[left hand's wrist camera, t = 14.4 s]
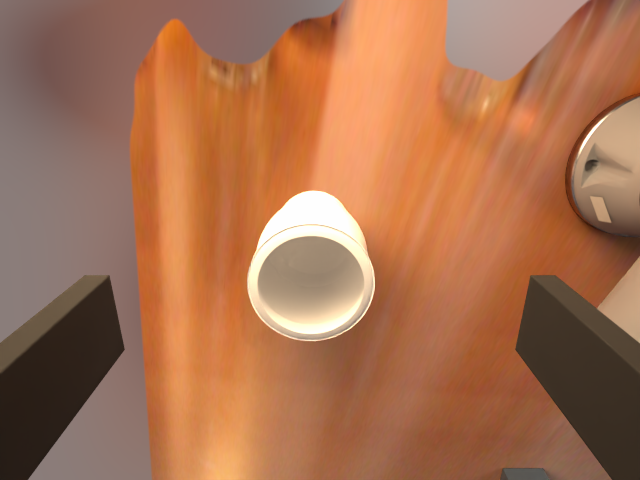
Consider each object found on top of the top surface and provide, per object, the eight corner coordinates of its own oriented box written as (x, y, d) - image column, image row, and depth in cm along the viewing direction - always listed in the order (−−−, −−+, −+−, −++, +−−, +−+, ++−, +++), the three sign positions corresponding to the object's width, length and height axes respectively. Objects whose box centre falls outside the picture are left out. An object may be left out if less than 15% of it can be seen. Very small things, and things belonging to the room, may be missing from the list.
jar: (276, 172, 44) (255, 212, 30) (368, 190, 45) (390, 237, 31) (262, 260, 48) (238, 332, 34) (347, 275, 48) (358, 352, 34)
